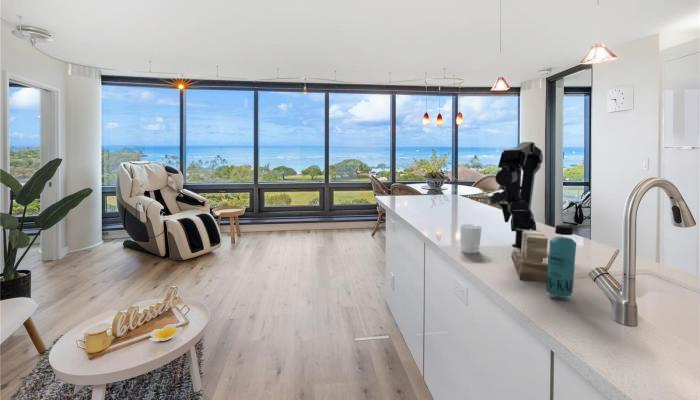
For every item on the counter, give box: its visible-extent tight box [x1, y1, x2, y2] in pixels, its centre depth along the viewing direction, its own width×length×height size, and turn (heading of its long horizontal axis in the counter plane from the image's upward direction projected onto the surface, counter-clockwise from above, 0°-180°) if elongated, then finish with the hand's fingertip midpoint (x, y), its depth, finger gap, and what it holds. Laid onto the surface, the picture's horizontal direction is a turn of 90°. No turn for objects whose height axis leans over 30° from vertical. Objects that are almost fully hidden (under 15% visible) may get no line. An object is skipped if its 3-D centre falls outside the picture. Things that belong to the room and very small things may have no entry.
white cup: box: [459, 224, 482, 254], centre depth 149 cm, size 8×8×10 cm
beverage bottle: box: [545, 224, 577, 298], centre depth 101 cm, size 6×7×20 cm
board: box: [510, 248, 549, 283], centre depth 127 cm, size 26×12×5 cm, turn 162°
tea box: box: [520, 229, 549, 263], centre depth 130 cm, size 13×6×9 cm, turn 162°
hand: (510, 224), depth 140 cm, fingers open, 9 cm apart
